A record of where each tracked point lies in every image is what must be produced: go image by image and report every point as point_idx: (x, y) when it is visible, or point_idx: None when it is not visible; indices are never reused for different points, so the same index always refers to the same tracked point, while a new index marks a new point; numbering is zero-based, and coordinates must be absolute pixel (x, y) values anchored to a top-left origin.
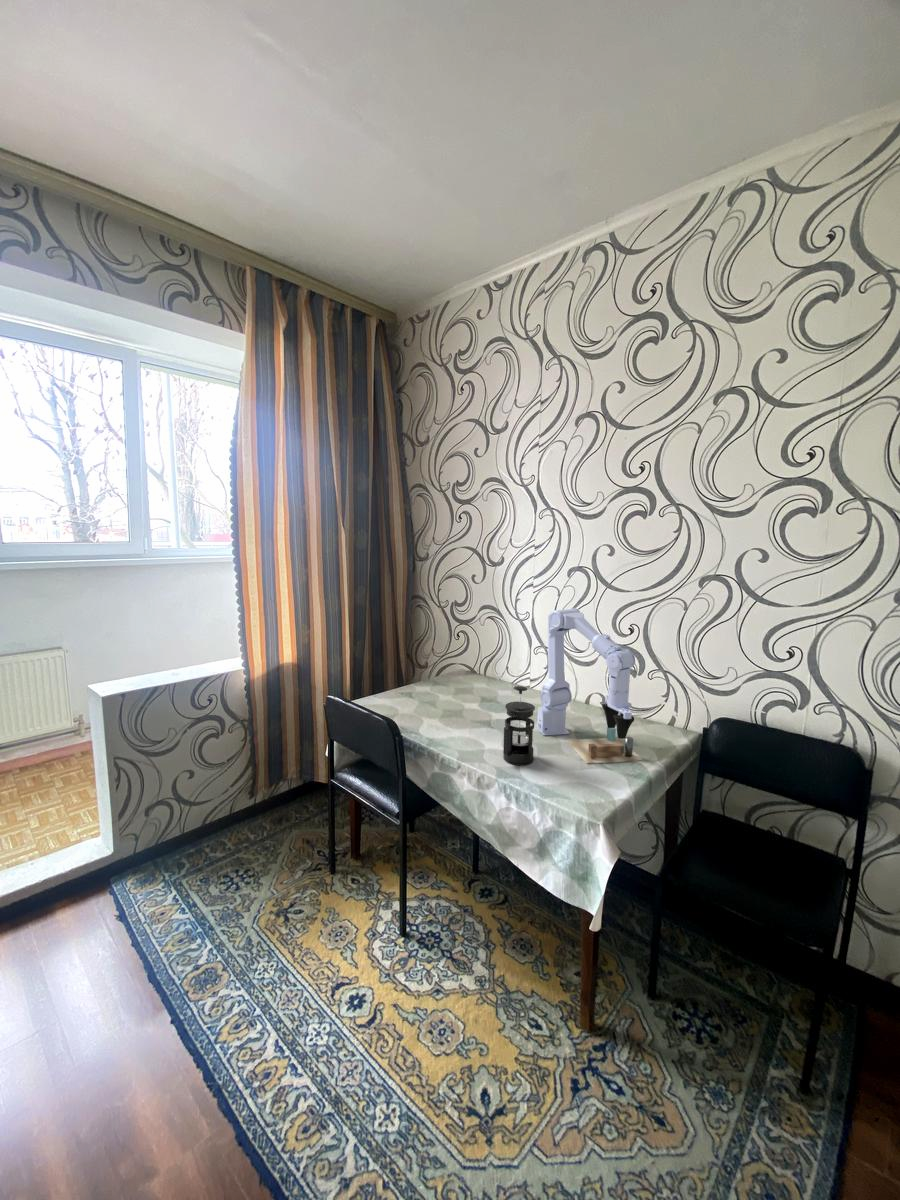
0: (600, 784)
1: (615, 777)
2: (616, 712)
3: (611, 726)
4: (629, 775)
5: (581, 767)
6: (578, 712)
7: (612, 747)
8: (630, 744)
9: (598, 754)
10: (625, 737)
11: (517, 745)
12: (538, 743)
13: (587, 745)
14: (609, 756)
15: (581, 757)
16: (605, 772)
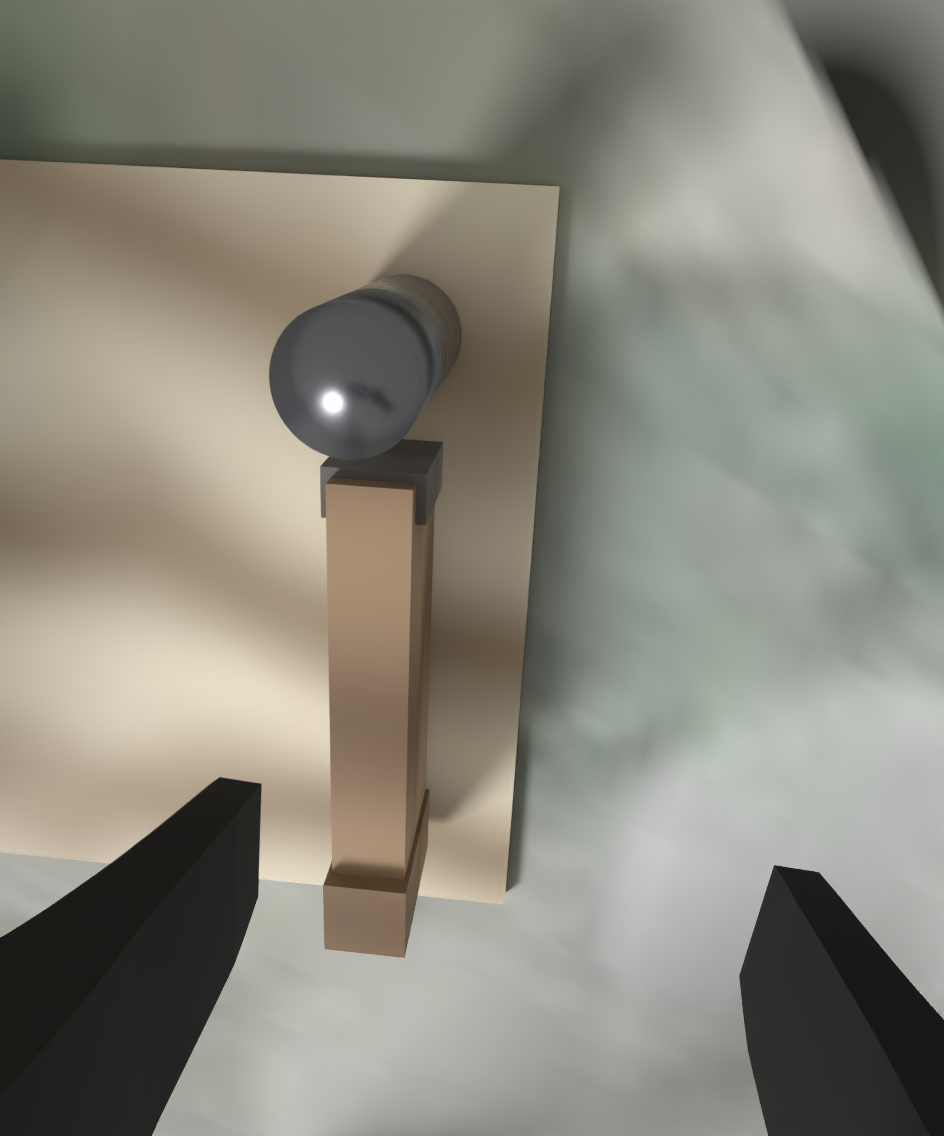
0: (931, 969)
1: (862, 773)
2: (54, 1092)
3: (249, 871)
4: (880, 604)
5: (560, 965)
6: None
7: (413, 658)
8: (436, 383)
9: (421, 782)
10: (828, 885)
11: None
12: None
13: (83, 704)
14: None
15: None
16: (725, 812)
